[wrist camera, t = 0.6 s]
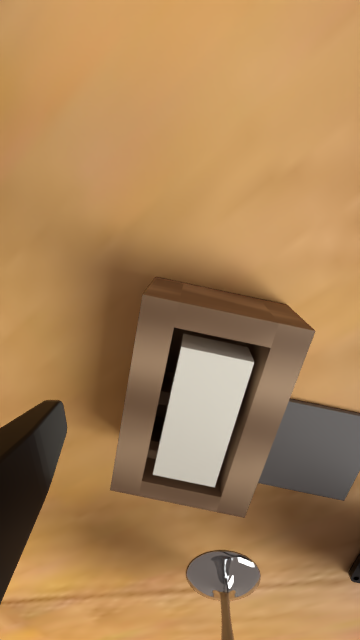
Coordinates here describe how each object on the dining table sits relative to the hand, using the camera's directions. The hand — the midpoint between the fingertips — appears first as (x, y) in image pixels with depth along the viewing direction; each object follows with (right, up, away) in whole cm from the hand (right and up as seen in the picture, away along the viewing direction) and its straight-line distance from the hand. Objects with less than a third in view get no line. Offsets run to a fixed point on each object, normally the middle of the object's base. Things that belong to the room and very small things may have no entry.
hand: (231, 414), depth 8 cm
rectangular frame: (0, -2, +14) cm, 14 cm away
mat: (+9, -8, +16) cm, 20 cm away
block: (0, -3, +11) cm, 12 cm away
